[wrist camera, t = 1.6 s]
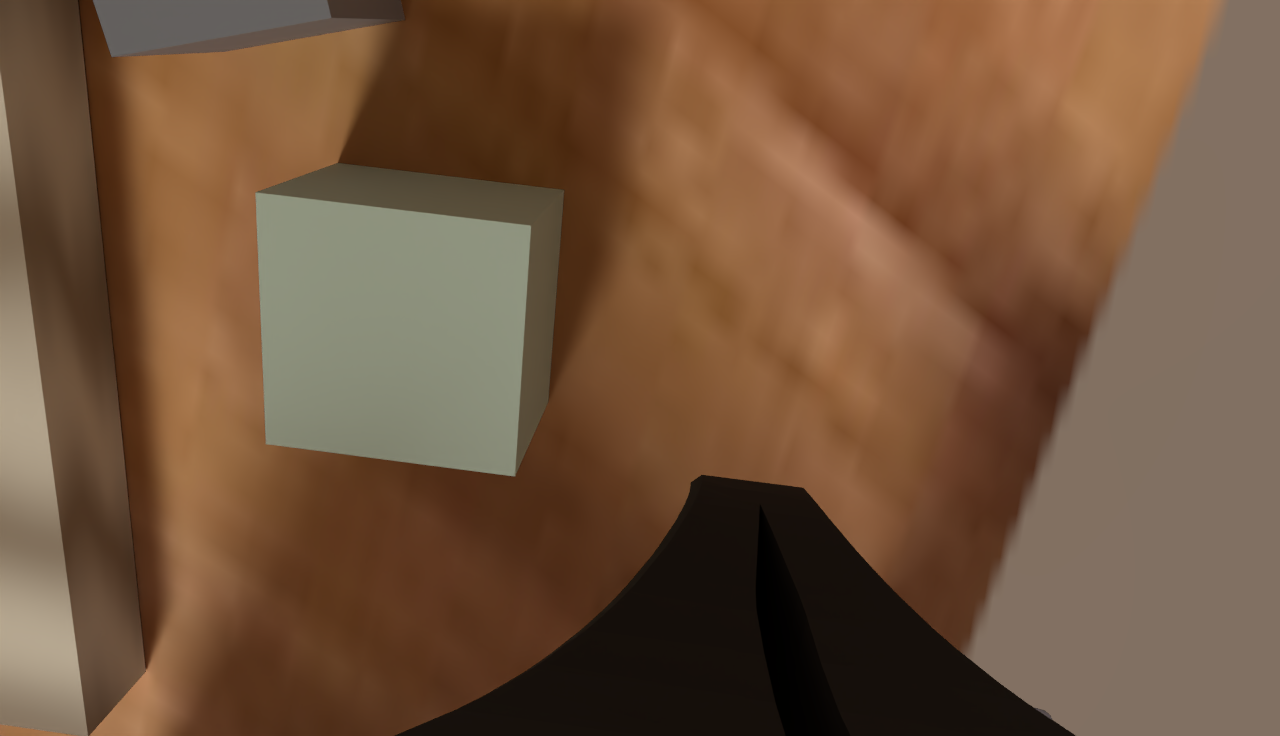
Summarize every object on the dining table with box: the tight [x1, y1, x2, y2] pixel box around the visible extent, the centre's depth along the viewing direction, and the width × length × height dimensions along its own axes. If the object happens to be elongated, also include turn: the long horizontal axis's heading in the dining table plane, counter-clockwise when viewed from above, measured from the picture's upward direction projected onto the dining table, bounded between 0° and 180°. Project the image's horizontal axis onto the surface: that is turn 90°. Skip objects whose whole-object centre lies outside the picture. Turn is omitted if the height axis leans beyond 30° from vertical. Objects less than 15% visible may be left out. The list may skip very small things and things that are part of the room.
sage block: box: [256, 163, 564, 476], centre depth 19 cm, size 5×5×4 cm
